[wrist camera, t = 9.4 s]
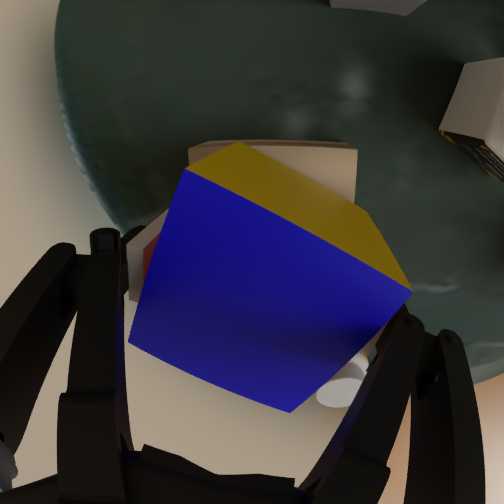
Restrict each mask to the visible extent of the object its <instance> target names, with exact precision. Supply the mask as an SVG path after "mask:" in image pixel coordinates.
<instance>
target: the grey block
mask: <svg viewBox="0 0 504 504" xmlns="http://www.w3.org/2000/svg"><path fill="white" fill-rule="evenodd" d="M329 1H330V7H331V8H347V9H359V10H368V11H376V12H384V13H390V14H396V15H402V16H407V15H409V14H410V13H411V12H413V11H414V10H415V9H416V8H418V7H419V6H420V5H422V4H423V3H424V2H426V1H427V0H329Z"/></svg>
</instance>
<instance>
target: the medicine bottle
mask: <svg viewBox="0 0 504 504" xmlns="http://www.w3.org/2000/svg"><path fill="white" fill-rule="evenodd" d="M439 132H440V133H441V134H442V135H443V136H444V137H446V138H447V139H448V140H450V141H451V142H452V143H453V144H455V145H456V146H457V147H459V148H460V149H461V150H462V151H463V152H465V153H466V154H467V155H468V156H469V157H471V158H472V159H473V160H474V161H475V162H476V163H478V164H479V165H480V166H481V167H482V168H483V169H484V170H485V171H486V172H488V173H489V174H490V175H491V176H492V177H495V178H497V179H499V180H501V181H503V182H504V57H502V58H495V59H488V60H482V61H477V62H471V63H466V64H465V65H464V67H463V70H462V72H461V75H460V78H459V80H458V83H457V86H456V88H455V91H454V93H453V96H452V98H451V101H450V103H449V106H448V108H447V110H446V113H445V115H444V117H443V119H442V122H441V124H440V126H439Z"/></svg>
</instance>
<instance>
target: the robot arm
mask: <svg viewBox="0 0 504 504" xmlns="http://www.w3.org/2000/svg"><path fill="white" fill-rule="evenodd" d="M168 210H169V208H168V209H167V210H166V211H165V212H164V213H162V214H161V215H160V216H159V217H158V218H156V219H155V220H154V221H153V222H152V223H150V224H149V225H148V226H142V225H140V226H138V227H135V228H133V229H131V230H130V231H129V232H128V233H126V234H125V235H124V236H123V237H122V238H120V232H119V231H118V230H117V229H114V228H99V229H96V230H94V231H92V232H91V233H90V247H91V255H83V254H76V248H75V246H74V245H73V244H71V243H64V242H63V243H58V244H56V245H54V246H52V247H51V248H50V249H49V250H48V251H47V252H46V253H45V254H44V255H43V256H42V257H41V259H40V260H39V261H38V262H37V263H36V264H35V266H34V267H33V268H32V269H31V270H30V271H29V273H28V274H27V275H26V276H25V278H24V279H23V280H22V281H21V282H20V284H19V285H18V286H17V287H16V289H15V290H14V291H13V293H12V294H11V295H10V296H9V298H8V299H7V300H6V302H5V303H4V304H3V306H2V307H1V308H0V504H377V503H378V501H379V499H380V497H381V495H382V493H383V490H384V488H385V486H386V483H387V481H388V479H389V476H390V472H391V471H390V468H389V467H387V466H386V463H387V460H388V458H389V455H390V453H391V450H392V448H393V445H394V442H395V439H396V437H397V434H398V431H399V428H400V425H401V422H402V419H403V416H404V413H405V409H406V406H407V403H408V399H409V396H410V392H411V428H410V449H409V462H408V473H407V482H406V490H405V497H404V504H485V465H484V453H483V442H482V434H481V426H480V419H479V413H478V407H477V401H476V396H475V391H474V386H473V382H472V377H471V373H470V369H469V365H468V361H467V357H466V353H465V350H464V346H463V343H462V340H461V339H460V337H459V336H458V335H457V334H456V333H455V332H453V331H450V330H447V329H443V330H441V331H440V332H439V334H438V335H437V336H435V335H432V334H430V333H427V332H425V331H424V325H423V323H422V322H421V321H420V320H419V319H418V318H417V317H415V316H414V315H412V314H409V312H408V310H407V307H406V305H405V303H404V304H403V305H402V306H401V307H400V308H399V309H398V311H397V312H396V313H395V314H394V315H393V316H392V317H391V318H390V320H389V321H388V322H387V323H386V324H385V325H384V326H383V327H382V328H381V329H380V330H379V331H378V333H377V334H376V335H375V336H374V337H373V338H372V339H371V340H370V341H369V342H368V343H367V344H366V345H365V346H364V347H363V348H362V349H361V350H360V351H359V352H358V353H357V354H363V355H370V354H371V352H372V350H373V349H374V347H375V346H376V350H377V354H376V355H375V357H374V358H373V360H372V362H371V363H370V365H369V366H368V368H367V369H366V372H367V373H366V375H365V377H364V379H363V382H362V384H361V386H360V388H359V390H358V392H357V394H356V396H355V398H354V399H353V401H352V403H351V405H350V407H349V409H348V411H347V413H346V415H345V416H344V418H343V420H342V422H341V423H340V425H339V427H338V429H337V430H336V432H335V434H334V436H333V437H332V439H331V441H330V442H329V444H328V446H327V447H326V449H325V450H324V452H323V454H322V455H321V457H320V458H319V460H318V461H317V463H316V465H315V466H314V468H313V469H312V470H311V472H310V473H309V475H308V476H307V478H306V479H305V480H304V481H303V482H302V483H301V485H300V486H299V487H298V488H297V487H294V483H295V478H286V477H277V476H270V475H263V474H241V475H218V474H214V473H212V472H210V471H208V470H206V469H204V468H202V467H199V466H198V465H196V464H194V463H192V462H190V461H188V460H187V459H185V458H183V457H181V456H179V455H176V454H172V453H169V452H166V451H163V450H160V449H157V448H154V447H152V446H149V445H146V444H144V446H143V448H142V450H141V451H134V447H133V443H132V438H131V432H130V423H129V414H128V403H127V391H126V377H125V376H126V375H125V355H124V354H125V352H124V294H125V293H126V292H127V290H129V300H132V301H135V302H139V298H140V295H141V291H142V288H143V285H144V281H145V278H146V275H147V272H148V268H149V265H150V262H151V259H152V256H153V253H154V250H155V247H156V244H157V241H158V238H159V235H160V232H161V229H162V227H163V224H164V221H165V218H166V215H167V213H168ZM77 310H78V311H77ZM76 312H77V317H76V323H75V328H74V334H73V341H72V348H71V355H70V364H69V373H68V385H67V391H66V393H61V395H60V397H59V403H58V420H57V472H58V473H57V474H55V475H52V476H50V477H47V478H44V479H41V480H38V481H35V482H32V483H29V484H26V485H24V486H20V487H17V488H14V489H13V488H12V479H14V478H15V477H16V476H17V474H18V470H17V467H16V465H15V458H14V454H15V452H16V451H17V449H18V447H19V445H20V442H21V440H22V438H23V435H24V433H25V430H26V427H27V424H28V421H29V419H30V416H31V413H32V410H33V408H34V405H35V402H36V400H37V397H38V394H39V392H40V389H41V387H42V384H43V382H44V380H45V377H46V375H47V372H48V370H49V368H50V366H51V363H52V361H53V359H54V357H55V355H56V352H57V350H58V348H59V346H60V344H61V342H62V340H63V338H64V336H65V334H66V332H67V330H68V328H69V326H70V324H71V322H72V320H73V318H74V316H75V314H76Z"/></svg>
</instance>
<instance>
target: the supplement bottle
mask: <svg viewBox="0 0 504 504" xmlns="http://www.w3.org/2000/svg"><path fill="white" fill-rule="evenodd" d="M367 368H368V359H367V355H363V354H356V355H355V356H354V357H353V358H352V359H351V360H350V361H349V362H348V363H347V364H346V365H345V366H344V367H342V368H341V369H340V370H339V371H338V372H337V373H336V374H335V375H334V376H333V377H332V378H331V379H329V380H328V381H327V382H326V383H325V384H324V385H323V386H322V387H320V388H319V389H318V390H317V391H316V392H315V393H316V399H317V400H318V401H319V402H320V403H321V404H323V405H325V406H328V407H345V406H349V405H351V403H352V401H353V399H354V398H355V396H356V394H357V392H358V390H359V388H360V386H361V384H362V382H363V379H364V377H365V375H366V373H367V372H366V369H367Z"/></svg>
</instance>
